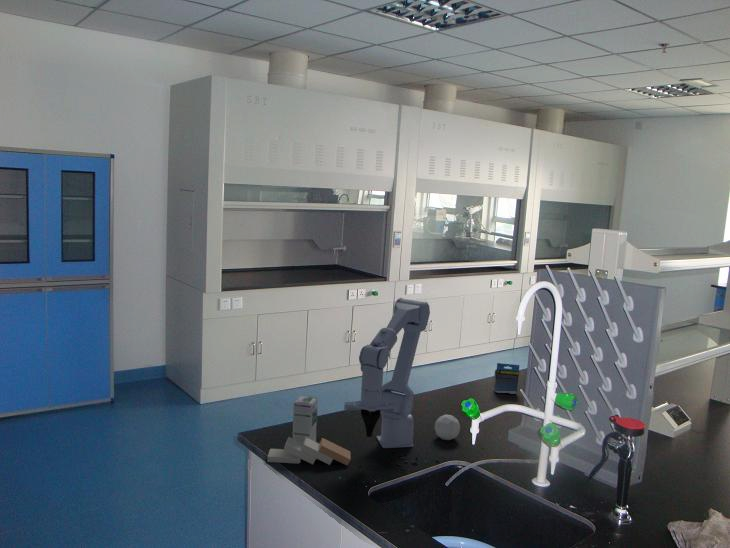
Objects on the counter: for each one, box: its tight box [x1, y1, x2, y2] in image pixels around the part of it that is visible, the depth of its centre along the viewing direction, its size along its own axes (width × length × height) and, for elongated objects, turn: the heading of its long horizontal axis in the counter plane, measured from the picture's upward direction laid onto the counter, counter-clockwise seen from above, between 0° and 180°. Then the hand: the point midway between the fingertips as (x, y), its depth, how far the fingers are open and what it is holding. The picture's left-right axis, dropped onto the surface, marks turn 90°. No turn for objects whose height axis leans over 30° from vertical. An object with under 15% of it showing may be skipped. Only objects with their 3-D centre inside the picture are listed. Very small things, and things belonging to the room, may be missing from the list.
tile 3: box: [283, 436, 317, 465], centre depth 163 cm, size 2×5×9 cm
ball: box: [434, 413, 461, 441], centre depth 183 cm, size 8×8×8 cm
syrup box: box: [292, 395, 319, 443], centre depth 171 cm, size 6×6×14 cm
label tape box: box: [492, 362, 520, 393], centre depth 230 cm, size 9×4×12 cm, turn 85°
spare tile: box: [318, 437, 352, 466], centre depth 164 cm, size 2×5×9 cm
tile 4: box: [267, 448, 302, 464], centre depth 164 cm, size 2×5×9 cm
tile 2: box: [301, 437, 334, 466], centre depth 163 cm, size 2×5×9 cm
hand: (368, 435), depth 164 cm, fingers closed
